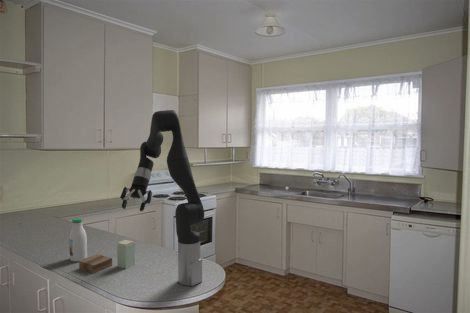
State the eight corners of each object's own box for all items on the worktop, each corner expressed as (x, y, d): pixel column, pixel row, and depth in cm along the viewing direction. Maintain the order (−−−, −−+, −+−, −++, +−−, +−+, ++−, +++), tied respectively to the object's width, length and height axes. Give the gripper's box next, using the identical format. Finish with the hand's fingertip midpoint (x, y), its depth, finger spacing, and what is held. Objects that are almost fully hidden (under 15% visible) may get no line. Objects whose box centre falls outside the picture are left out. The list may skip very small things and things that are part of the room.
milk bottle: (89, 256, 176) (88, 216, 174) (83, 262, 168) (82, 220, 166) (74, 256, 176) (72, 216, 174) (67, 262, 168) (65, 221, 166)
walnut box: (112, 266, 164) (112, 258, 163) (94, 274, 155) (93, 265, 155) (97, 262, 169) (97, 254, 168) (79, 269, 160) (79, 261, 160)
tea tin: (134, 264, 165) (134, 241, 164) (126, 268, 160) (125, 244, 159) (126, 262, 167) (125, 239, 167) (117, 266, 163) (117, 242, 162)
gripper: (125, 173, 171) (115, 204, 163) (153, 177, 169) (144, 208, 162) (130, 180, 177) (120, 210, 170) (157, 183, 176) (148, 214, 168)
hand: (132, 209), depth 166 cm, fingers open, 8 cm apart
